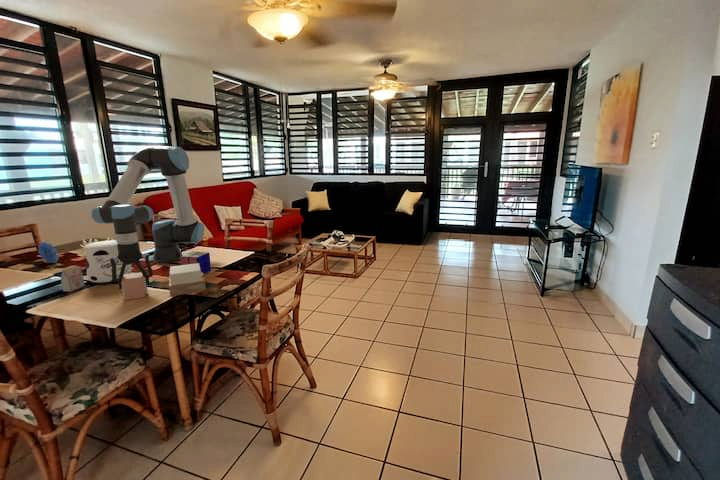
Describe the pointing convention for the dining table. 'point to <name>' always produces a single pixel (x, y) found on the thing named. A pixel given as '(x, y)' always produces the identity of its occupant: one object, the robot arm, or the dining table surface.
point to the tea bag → (72, 279)
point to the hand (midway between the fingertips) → (136, 293)
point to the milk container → (103, 261)
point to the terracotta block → (133, 285)
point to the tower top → (185, 274)
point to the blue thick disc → (48, 252)
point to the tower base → (187, 287)
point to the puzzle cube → (197, 260)
